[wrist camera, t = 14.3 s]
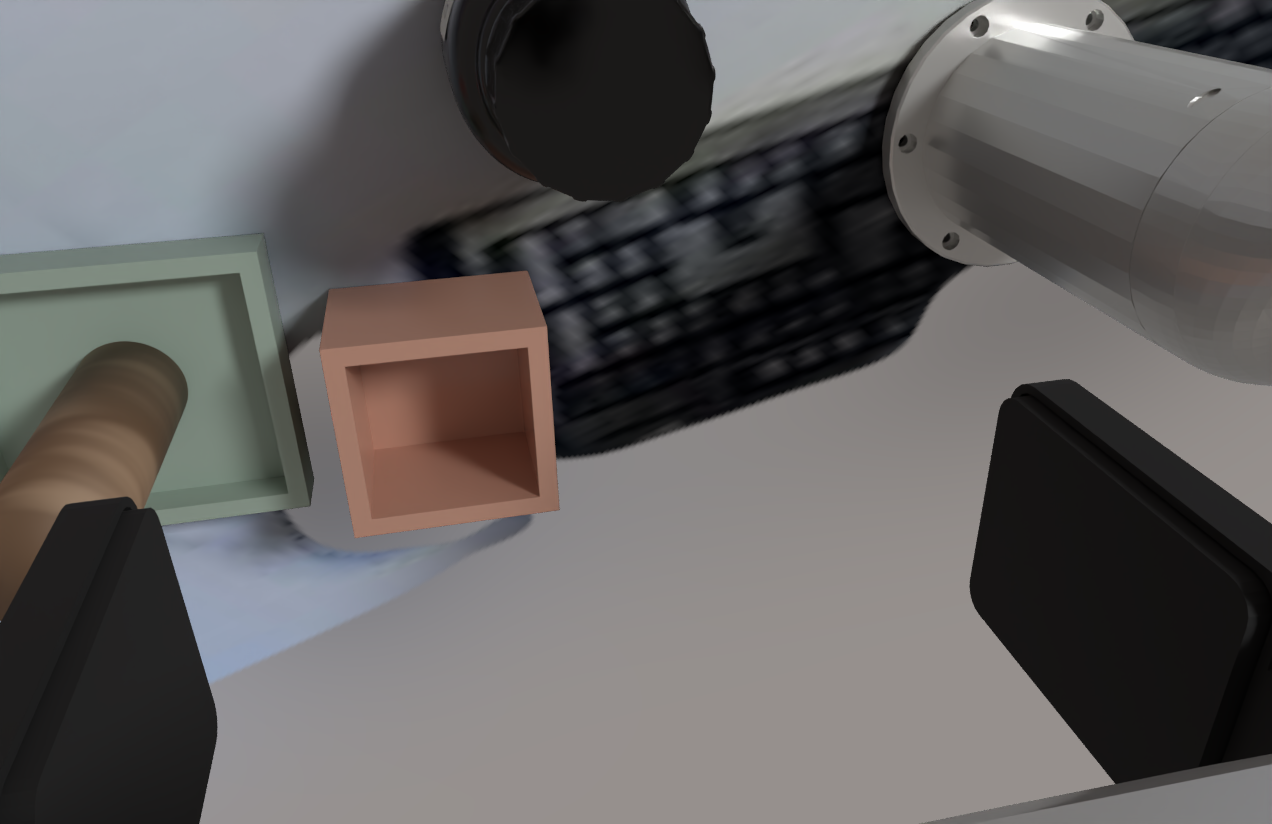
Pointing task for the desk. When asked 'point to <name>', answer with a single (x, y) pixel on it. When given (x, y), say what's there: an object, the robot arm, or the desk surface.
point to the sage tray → (192, 337)
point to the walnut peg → (90, 448)
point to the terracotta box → (440, 401)
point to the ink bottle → (581, 88)
